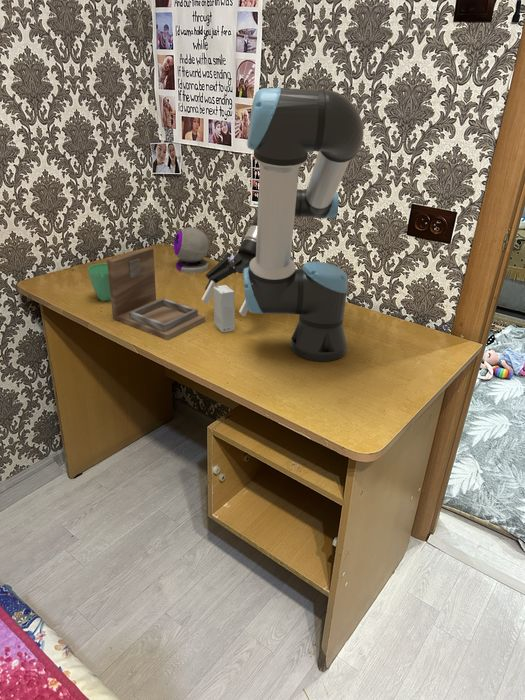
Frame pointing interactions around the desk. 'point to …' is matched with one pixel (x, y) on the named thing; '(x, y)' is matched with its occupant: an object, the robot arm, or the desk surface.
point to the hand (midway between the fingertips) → (222, 308)
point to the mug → (100, 280)
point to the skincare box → (224, 308)
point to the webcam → (191, 250)
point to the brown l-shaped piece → (145, 298)
